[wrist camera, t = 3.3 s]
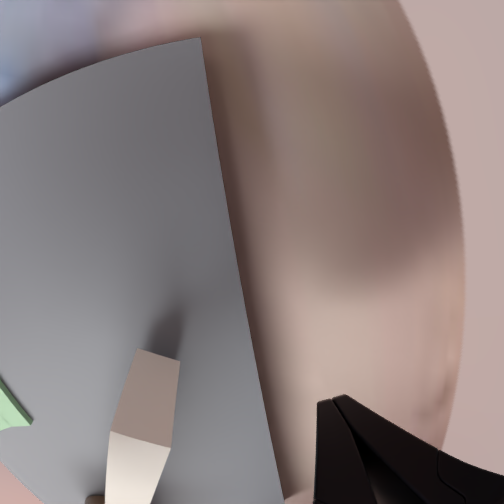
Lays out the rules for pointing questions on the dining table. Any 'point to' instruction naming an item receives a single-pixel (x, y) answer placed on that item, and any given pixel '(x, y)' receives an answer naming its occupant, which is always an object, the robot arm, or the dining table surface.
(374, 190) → the dining table surface
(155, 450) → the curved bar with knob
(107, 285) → the dial plate
